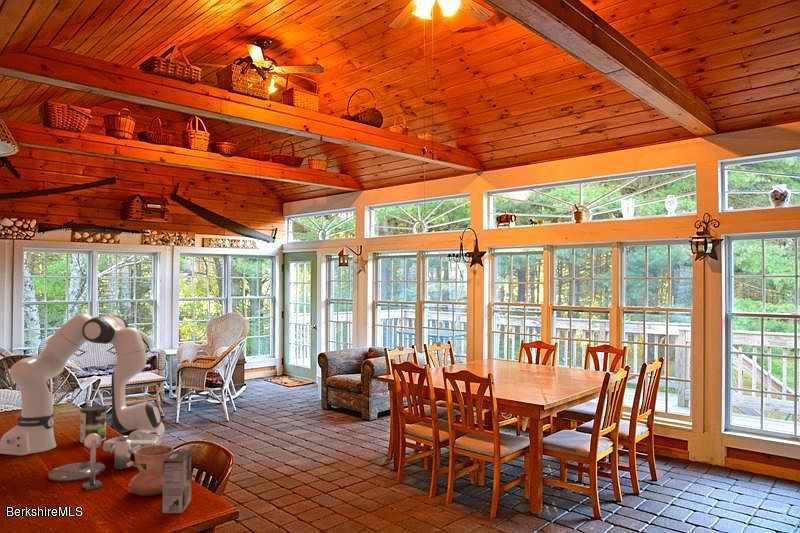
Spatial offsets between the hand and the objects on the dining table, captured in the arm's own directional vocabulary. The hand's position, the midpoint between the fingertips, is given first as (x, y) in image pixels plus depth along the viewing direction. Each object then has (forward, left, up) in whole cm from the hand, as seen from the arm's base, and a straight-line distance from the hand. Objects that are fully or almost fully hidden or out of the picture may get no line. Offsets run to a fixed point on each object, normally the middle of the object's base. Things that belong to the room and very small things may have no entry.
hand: (121, 451), depth 211 cm
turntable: (-14, -5, -7) cm, 16 cm away
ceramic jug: (+22, -21, -7) cm, 31 cm away
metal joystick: (-1, -18, -7) cm, 19 cm away
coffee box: (+35, -34, -7) cm, 50 cm away
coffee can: (-32, +37, -7) cm, 49 cm away
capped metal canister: (0, +1, -6) cm, 6 cm away
